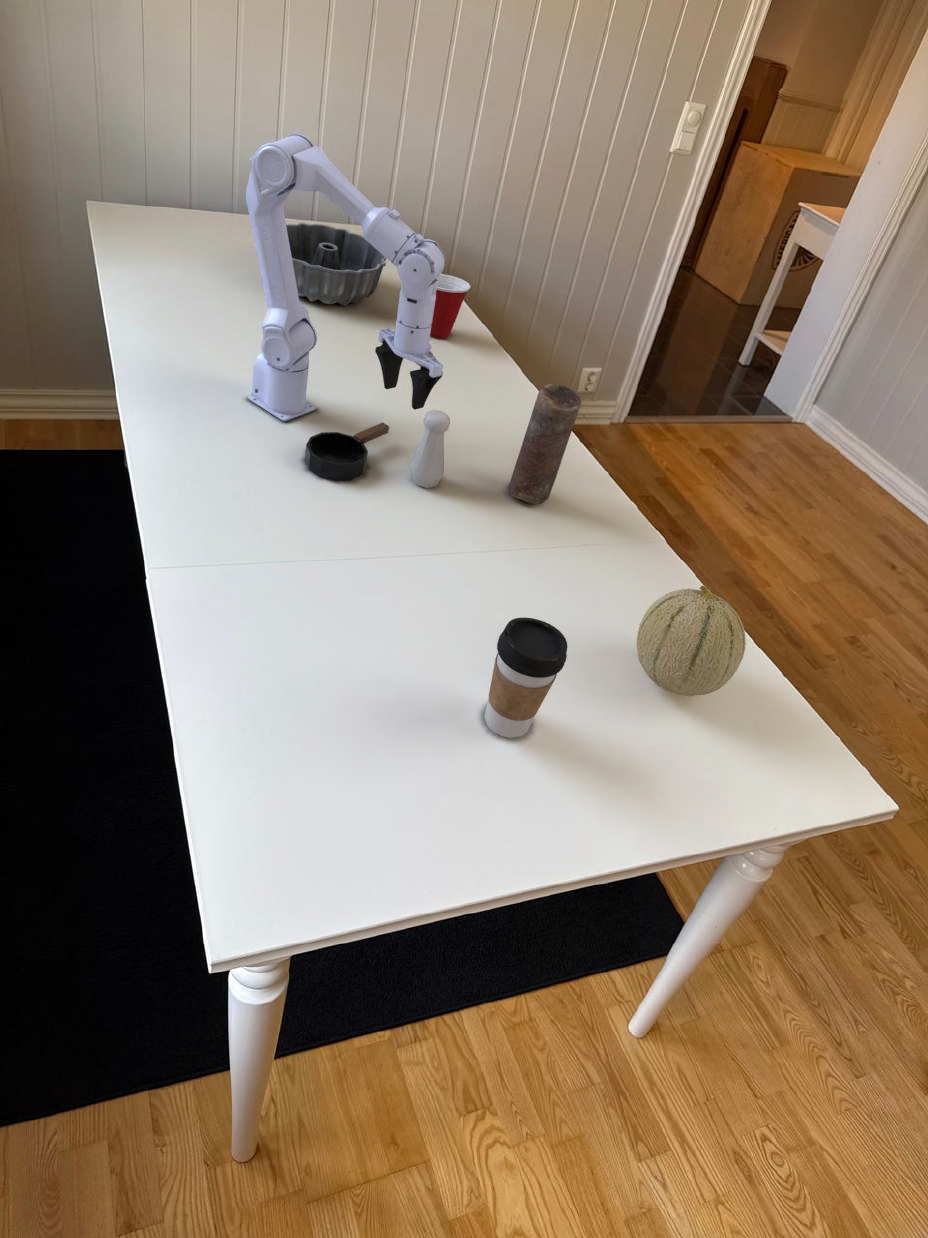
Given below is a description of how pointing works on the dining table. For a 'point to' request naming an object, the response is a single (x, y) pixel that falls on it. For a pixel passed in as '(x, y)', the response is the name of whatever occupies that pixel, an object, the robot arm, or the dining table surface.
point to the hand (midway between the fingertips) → (403, 397)
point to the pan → (340, 453)
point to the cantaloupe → (691, 642)
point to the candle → (544, 443)
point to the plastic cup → (447, 304)
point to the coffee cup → (523, 674)
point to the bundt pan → (333, 263)
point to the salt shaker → (430, 450)
